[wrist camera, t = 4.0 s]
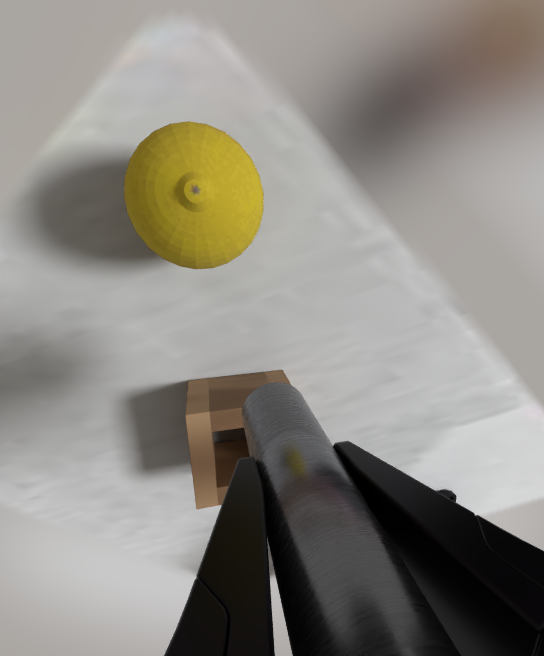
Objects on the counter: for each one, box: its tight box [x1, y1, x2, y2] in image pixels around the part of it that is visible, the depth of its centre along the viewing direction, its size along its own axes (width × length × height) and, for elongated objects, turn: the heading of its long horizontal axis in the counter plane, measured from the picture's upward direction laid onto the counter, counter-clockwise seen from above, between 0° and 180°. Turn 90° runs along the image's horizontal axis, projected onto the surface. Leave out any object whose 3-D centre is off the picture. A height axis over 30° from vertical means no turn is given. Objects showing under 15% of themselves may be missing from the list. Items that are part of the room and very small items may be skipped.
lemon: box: [124, 122, 263, 269], centre depth 14 cm, size 6×6×8 cm
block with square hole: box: [185, 370, 292, 509], centre depth 19 cm, size 6×6×4 cm
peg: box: [242, 382, 461, 656], centre depth 7 cm, size 2×2×8 cm
